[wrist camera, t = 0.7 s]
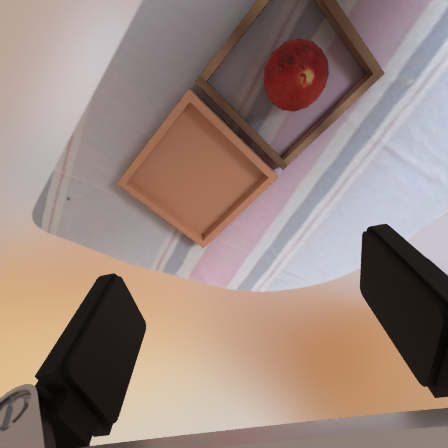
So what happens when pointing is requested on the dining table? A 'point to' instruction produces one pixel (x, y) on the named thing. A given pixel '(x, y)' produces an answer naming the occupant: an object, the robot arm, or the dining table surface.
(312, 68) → the onion
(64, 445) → the robot arm
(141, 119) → the dining table surface
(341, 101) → the walnut frame
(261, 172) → the terracotta tray
